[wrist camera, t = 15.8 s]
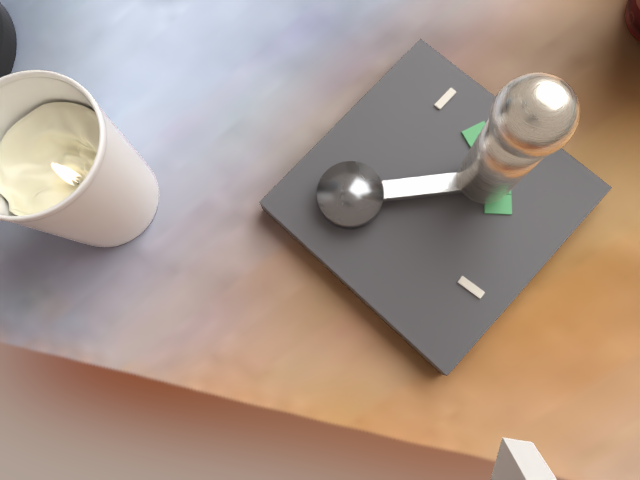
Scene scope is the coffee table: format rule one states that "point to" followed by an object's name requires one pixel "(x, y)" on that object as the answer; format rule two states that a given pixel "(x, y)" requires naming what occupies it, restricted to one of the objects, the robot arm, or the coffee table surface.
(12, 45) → the robot arm
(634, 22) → the decorative planter
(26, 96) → the candle holder
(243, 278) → the coffee table surface
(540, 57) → the coffee table surface
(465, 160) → the shiny silver rounded post
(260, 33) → the coffee table surface
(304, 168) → the dial board
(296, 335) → the coffee table surface
